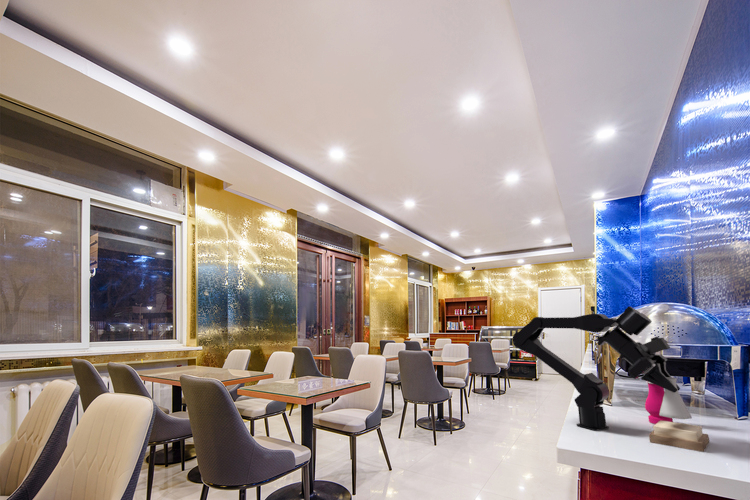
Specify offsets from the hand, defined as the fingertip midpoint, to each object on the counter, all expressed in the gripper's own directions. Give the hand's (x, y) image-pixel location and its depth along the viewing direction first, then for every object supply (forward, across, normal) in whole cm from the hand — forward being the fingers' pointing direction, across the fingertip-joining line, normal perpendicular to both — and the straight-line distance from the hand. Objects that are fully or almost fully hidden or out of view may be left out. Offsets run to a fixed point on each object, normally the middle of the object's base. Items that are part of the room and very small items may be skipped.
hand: (677, 390), depth 102 cm
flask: (+4, 0, +6) cm, 7 cm away
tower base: (+9, +1, +10) cm, 13 cm away
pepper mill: (+3, +21, +16) cm, 27 cm away
